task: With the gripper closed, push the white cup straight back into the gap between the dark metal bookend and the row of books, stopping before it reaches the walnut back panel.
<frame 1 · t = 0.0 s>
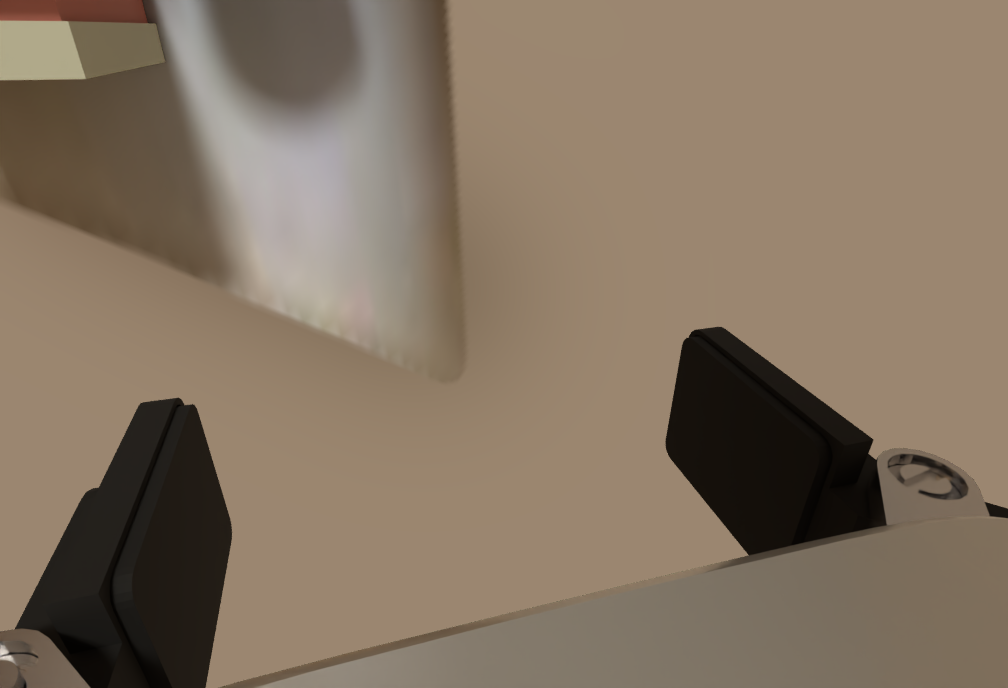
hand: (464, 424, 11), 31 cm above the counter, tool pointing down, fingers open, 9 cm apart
book row: (45, 4, 30), on the counter
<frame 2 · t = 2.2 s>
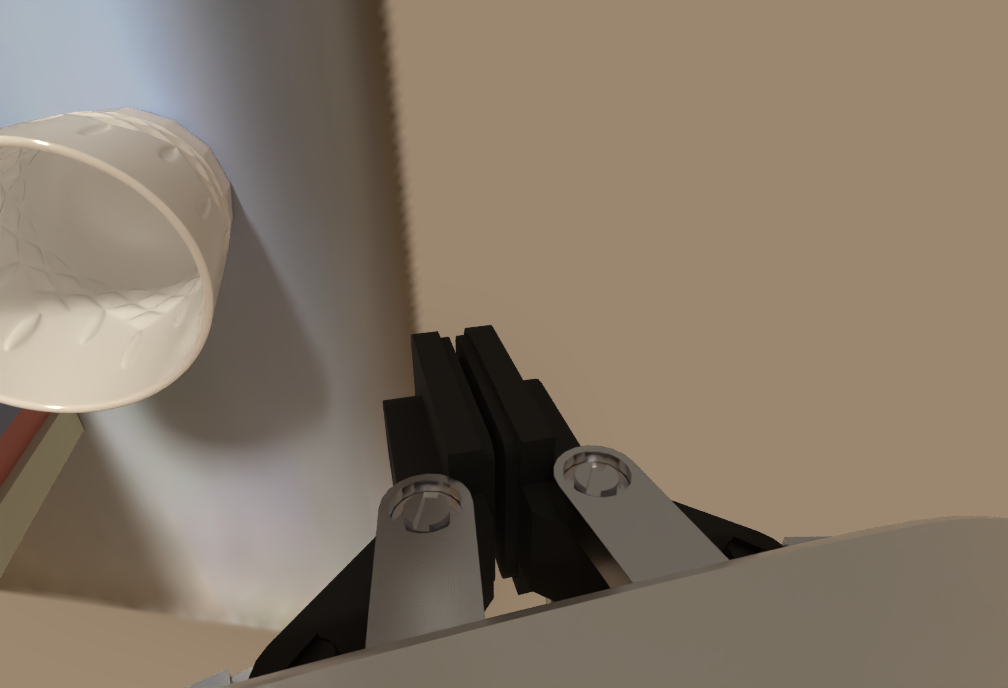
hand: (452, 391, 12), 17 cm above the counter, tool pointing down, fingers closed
white cup: (145, 193, 24), on the counter
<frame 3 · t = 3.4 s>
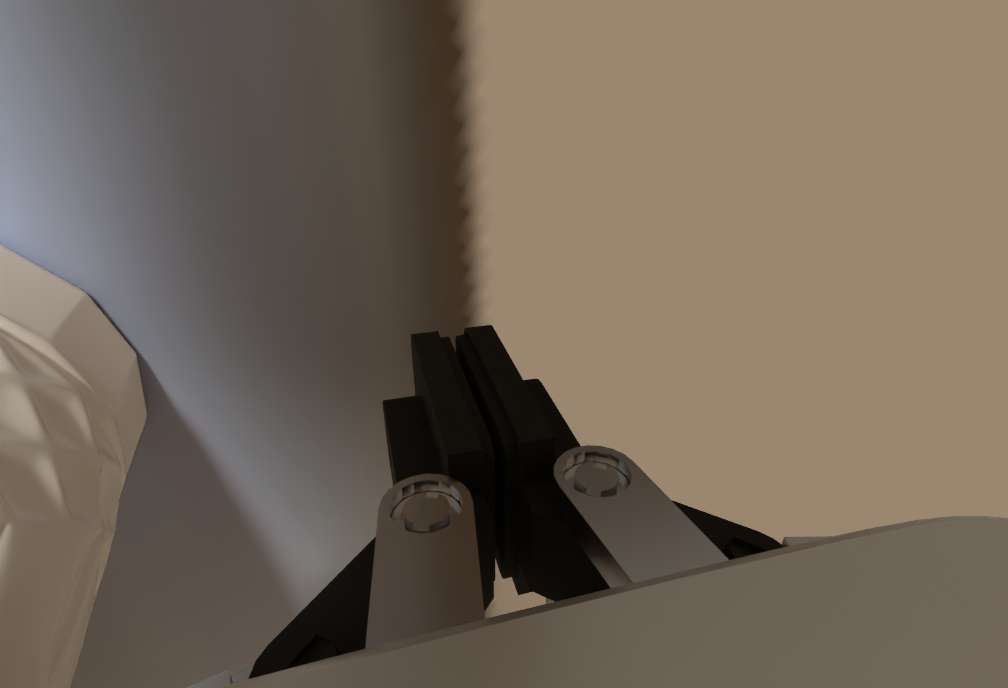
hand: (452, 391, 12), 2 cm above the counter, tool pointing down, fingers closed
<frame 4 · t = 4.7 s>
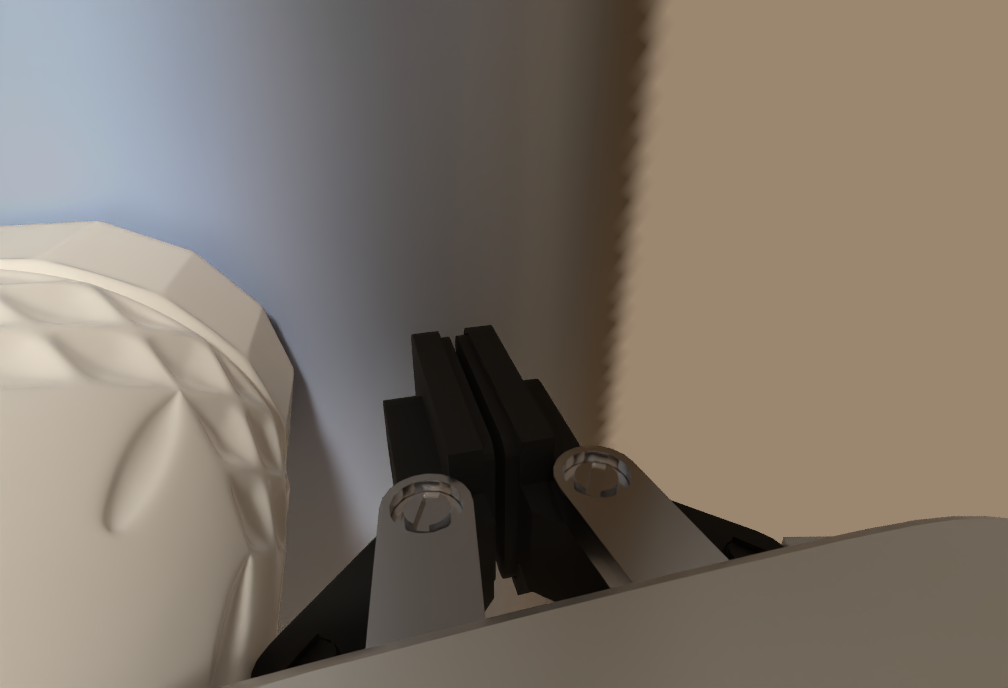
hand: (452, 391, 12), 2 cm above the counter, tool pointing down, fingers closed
white cup: (121, 375, 12), on the counter, touching gripper
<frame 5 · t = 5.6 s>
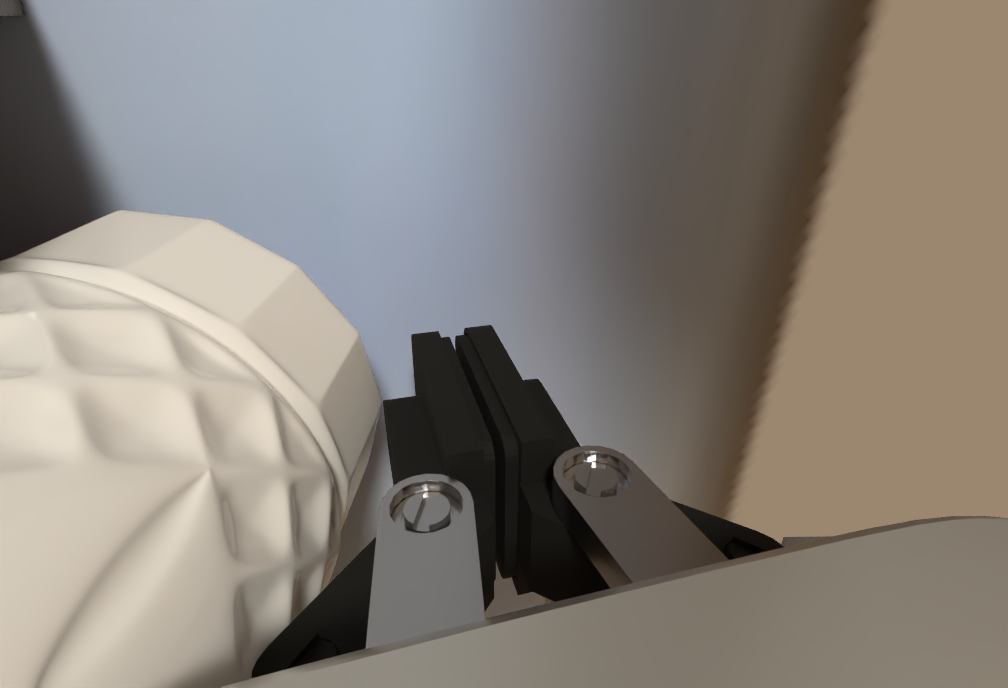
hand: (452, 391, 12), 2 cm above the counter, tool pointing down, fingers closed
white cup: (219, 367, 11), point 1 cm above the counter, touching gripper
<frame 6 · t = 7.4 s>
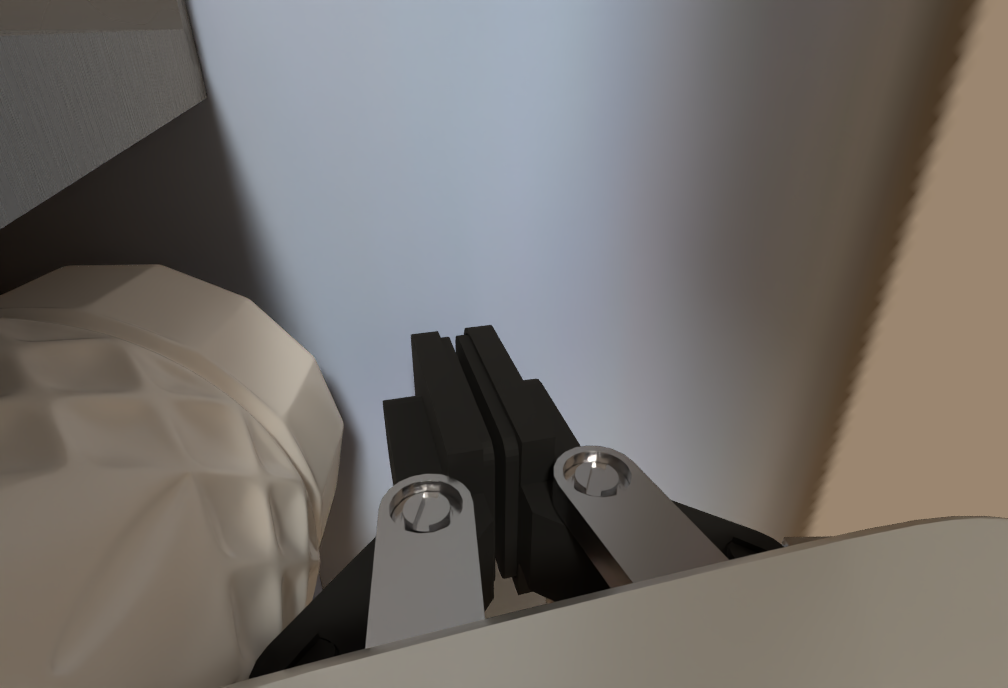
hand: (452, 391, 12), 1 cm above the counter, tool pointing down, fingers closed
white cup: (176, 415, 11), point 1 cm above the counter, touching gripper
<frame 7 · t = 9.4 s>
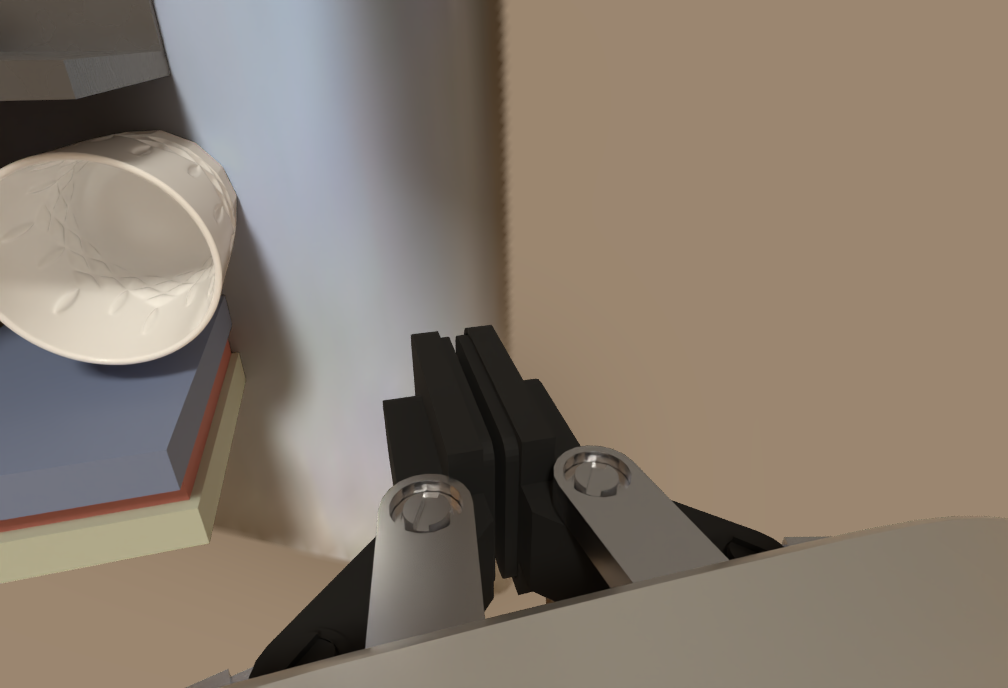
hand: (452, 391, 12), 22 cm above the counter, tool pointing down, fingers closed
bookend: (41, 64, 25), on the counter
book row: (138, 350, 32), on the counter
white cup: (165, 198, 29), on the counter
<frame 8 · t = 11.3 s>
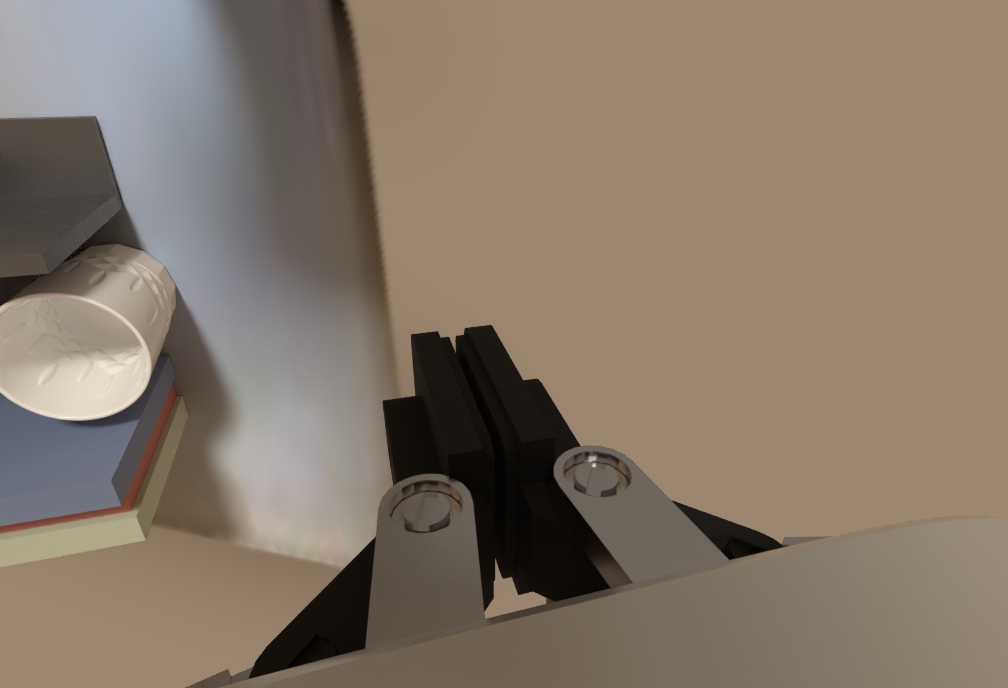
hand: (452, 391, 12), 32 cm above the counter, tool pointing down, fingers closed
bookend: (31, 204, 36), on the counter
book row: (105, 395, 43), on the counter
white cup: (122, 288, 40), on the counter
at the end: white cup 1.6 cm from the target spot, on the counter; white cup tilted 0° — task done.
